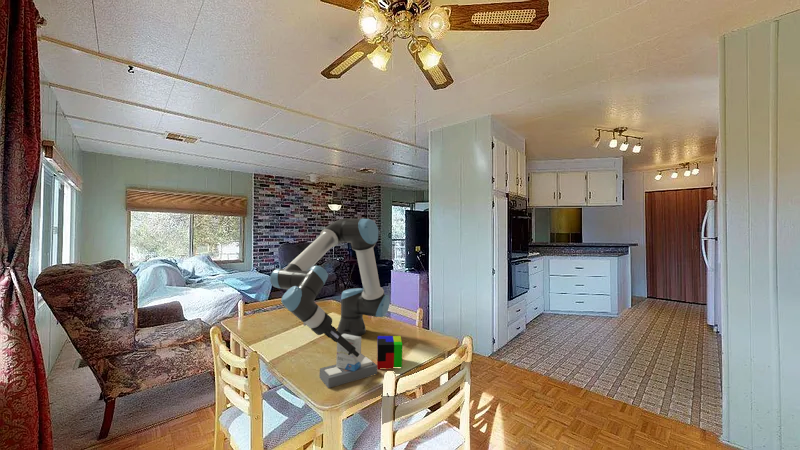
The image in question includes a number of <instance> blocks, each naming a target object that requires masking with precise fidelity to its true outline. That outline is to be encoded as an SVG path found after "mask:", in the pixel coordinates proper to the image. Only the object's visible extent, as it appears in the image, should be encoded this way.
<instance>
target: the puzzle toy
mask: <svg viewBox="0 0 800 450" xmlns="http://www.w3.org/2000/svg"><path fill="white" fill-rule="evenodd" d="M376 343H377V347H376V348H377V349H376V350H377V351H376V365H377V370H381V369H380V368H393V367H402V368H403V342H402V337H401V335H378V336H377V342H376Z"/></svg>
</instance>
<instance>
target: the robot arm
mask: <svg viewBox="0 0 800 450" xmlns="http://www.w3.org/2000/svg"><path fill="white" fill-rule="evenodd" d="M378 240H379V228H378V225H377V224H376V222H375V221H374V220H373V219H370V218H346V217H345V218H341V219H337V220H336V221H334V222H333V221H332V223H330V224H327V226H325V228H323V229H322V230H321V231H320V234H319V236H317V238H316V239H314V240H313V241H312V242H311V243H310V244H309V245H308V246H307V247H306V248H304V250H303V251H302V252H300V254H298V255H297V256H296V257H295V258H294V259H293V260H292V261H291V262H289V263H288V264H287V265H286V266H285V267H284V268H275V269H274V270H272V272H271V274H270V276H269V279H270V284H271V286H272V287H274V288H277V289H279V290H286V292H284V294H283V295H282V296H281V299H280V300H281V304H282V305H283V306H284V307H285V309H287V311H288V312H290V313H291V314H293V315H294V316H295V317H296V318H297V319H298V320H300V321H301V322H302V323H303V324H302V325H303V326H304V327H306V326H307V327H308V328H309V329H310V330H311V331H312V332H314V333H315V334H316V335H318V336H321V335H325V336H326V337H328V338H329V339H331V340H332V341H333V342H335V343H336V344H337V342H338V343H339V344H340V345H341V346H342V347H344V348H345V349H346V350H347V351H348V352H349V353H348V355H350V354H351V355H352V356H353V357H354V358H355V359H356V360H358V361H359V362H360V363H361V362H362V360H363V359H364V358H365V357H366V356H365V354H363V353H362V352H361V353H360V352H359V351H358V350H357V349H356V348H355V347H354V346H353V345H351V344H350V343H349V342H348V341H347V340H346V339H345V338H343V337H342V336H341V335H342V334H349V335H354V336H359V337H361V336H363V335H364V334H365V333H366V330H367V329H366V324H365V322H364V317H363V316H369V317H375V318H384V317H385V316H386V315H387V314H388V311H389V309H390V302H391V300H390V299H391V298H390V296H389V294H386V293H385V290H384V288H383V287H381V284H380V279H379V274H378V273H379V272H378V267H377V263H376V256H375V251H374V247H375V246H376V243H377V242H378ZM342 243H350V245H351V249H352V250H353V251H355V254H356V258H357V259H356V260H357V263H358V264H357V265H358V268H359V270H358V271H359V274H360V279H361V283H362V288H361V287H360V288H359V287H356V288H348V289H345V290H343V291H341V296H340V297H341V298H340V319H339V323H338V326H337V328H336V327H335V326H333V325H332V324H333V318H332V317H331V316H330V314H328V313H327V312H326V311H325V310H324V308H322V307H321V306H319V305H318V304H317V303H316V302H315V299H316V298H317V297H318V295H319V293H320V292H321V290H322V288H323V287H324V286H325V284H326V282H327V280H328V278H329V274H328V272H327V270H326V269H325V268H323V267H322V266H320V265H315V264H316V263H318V262H319V260H320V259H322V258H323V257H324V255H325V254H326V253H327V252H329V250H331V248H334V247H336V246H338V244H342Z"/></svg>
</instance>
